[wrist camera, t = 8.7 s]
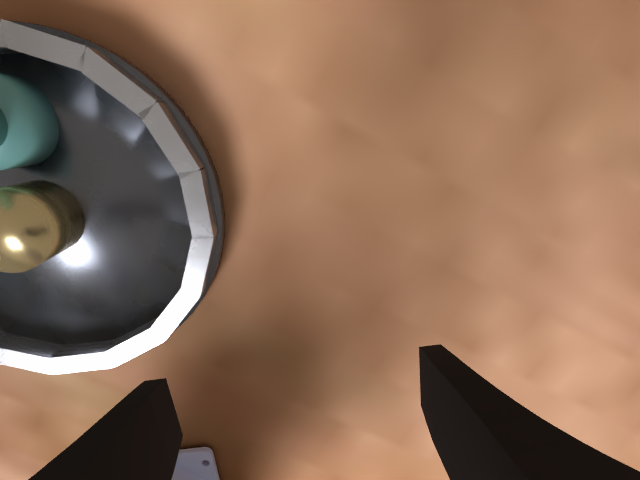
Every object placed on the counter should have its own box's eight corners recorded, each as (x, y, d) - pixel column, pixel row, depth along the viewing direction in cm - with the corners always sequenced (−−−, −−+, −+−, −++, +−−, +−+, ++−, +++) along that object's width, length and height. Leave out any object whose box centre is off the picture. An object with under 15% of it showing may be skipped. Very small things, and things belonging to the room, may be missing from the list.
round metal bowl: (248, 337, 22) (238, 378, 18) (-44, 369, 22) (-109, 416, 18) (188, 7, 16) (158, -22, 13) (-201, 44, 16) (-336, 24, 13)
